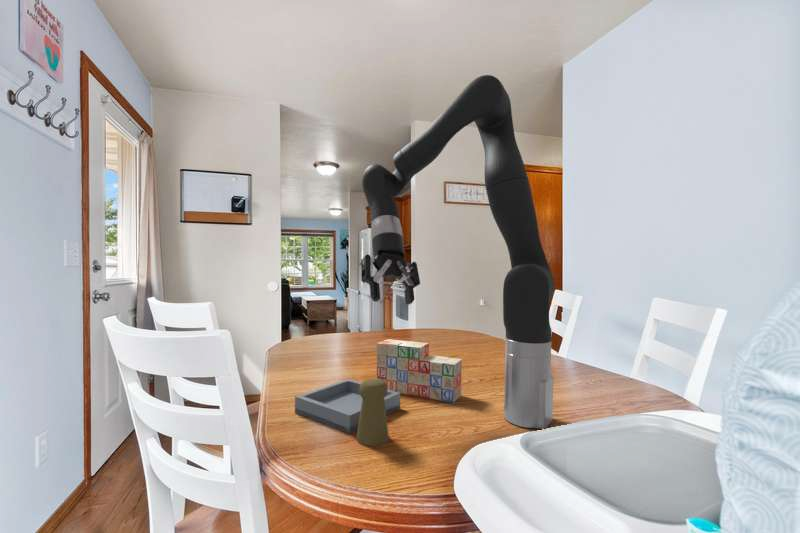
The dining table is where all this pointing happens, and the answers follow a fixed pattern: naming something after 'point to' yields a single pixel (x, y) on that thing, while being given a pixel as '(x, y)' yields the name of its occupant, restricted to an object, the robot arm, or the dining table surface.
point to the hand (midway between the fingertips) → (393, 302)
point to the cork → (373, 413)
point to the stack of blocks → (418, 370)
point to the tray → (339, 404)
